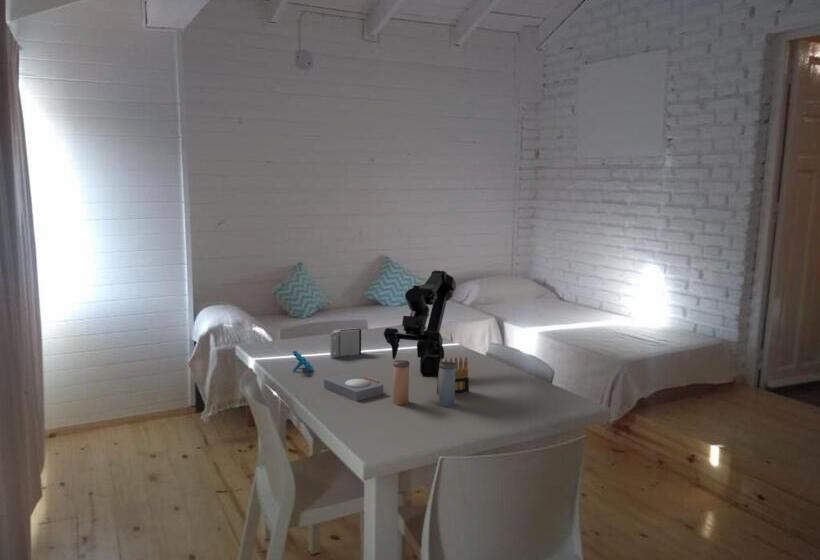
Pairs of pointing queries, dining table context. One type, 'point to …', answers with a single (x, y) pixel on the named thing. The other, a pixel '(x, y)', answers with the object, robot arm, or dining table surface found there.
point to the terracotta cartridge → (401, 382)
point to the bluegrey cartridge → (447, 384)
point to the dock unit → (354, 386)
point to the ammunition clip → (458, 376)
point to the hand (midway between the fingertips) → (407, 360)
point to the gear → (301, 361)
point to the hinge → (345, 342)
